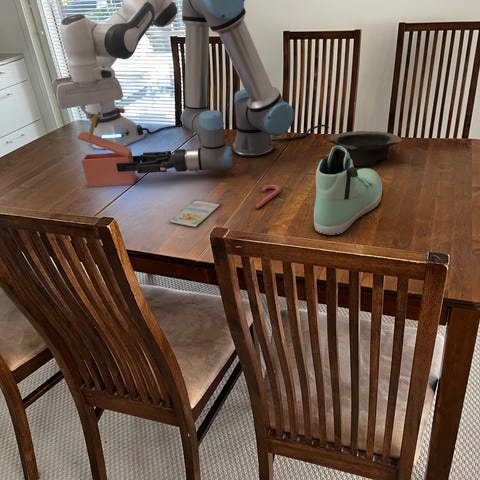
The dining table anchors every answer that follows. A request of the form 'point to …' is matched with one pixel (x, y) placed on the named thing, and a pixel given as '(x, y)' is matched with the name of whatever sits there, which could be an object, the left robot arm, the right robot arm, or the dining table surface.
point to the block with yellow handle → (102, 140)
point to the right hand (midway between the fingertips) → (119, 164)
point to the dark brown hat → (366, 145)
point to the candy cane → (262, 202)
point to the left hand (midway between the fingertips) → (95, 117)
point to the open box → (107, 169)
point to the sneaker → (343, 192)
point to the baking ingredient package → (194, 213)
